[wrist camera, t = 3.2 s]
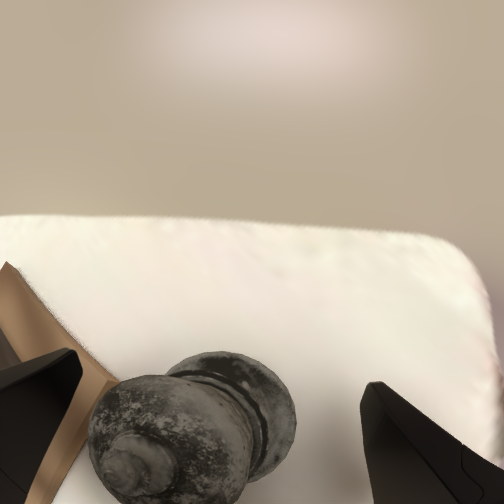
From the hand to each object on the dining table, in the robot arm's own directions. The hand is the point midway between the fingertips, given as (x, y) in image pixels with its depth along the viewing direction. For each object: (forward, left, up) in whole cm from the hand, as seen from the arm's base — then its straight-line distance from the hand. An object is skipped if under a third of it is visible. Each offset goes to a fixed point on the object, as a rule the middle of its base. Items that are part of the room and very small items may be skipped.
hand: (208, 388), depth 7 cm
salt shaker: (-1, -1, -7) cm, 7 cm away
